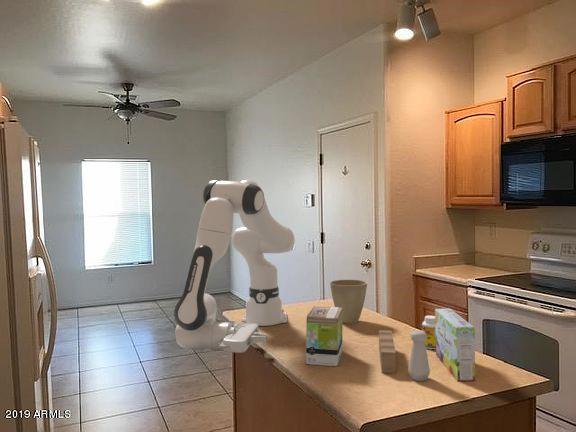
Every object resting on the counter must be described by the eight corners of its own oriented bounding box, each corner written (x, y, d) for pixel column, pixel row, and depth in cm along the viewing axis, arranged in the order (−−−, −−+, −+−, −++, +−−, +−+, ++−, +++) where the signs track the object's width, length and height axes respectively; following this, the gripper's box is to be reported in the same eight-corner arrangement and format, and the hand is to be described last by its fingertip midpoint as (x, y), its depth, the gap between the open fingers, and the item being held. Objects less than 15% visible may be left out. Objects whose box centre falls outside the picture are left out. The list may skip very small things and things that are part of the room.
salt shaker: (417, 384, 125) (417, 336, 125) (403, 376, 131) (403, 330, 130) (434, 380, 128) (434, 333, 127) (420, 373, 133) (420, 327, 133)
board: (379, 348, 155) (378, 330, 155) (391, 348, 155) (391, 330, 155) (381, 372, 134) (381, 352, 134) (395, 373, 133) (395, 352, 133)
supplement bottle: (418, 346, 157) (418, 316, 157) (431, 343, 159) (431, 314, 159) (430, 351, 152) (430, 319, 152) (443, 348, 154) (443, 317, 154)
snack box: (433, 355, 148) (433, 308, 147) (451, 355, 148) (451, 308, 147) (455, 381, 127) (455, 326, 126) (476, 381, 127) (476, 326, 126)
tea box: (338, 367, 139) (338, 317, 138) (305, 365, 141) (304, 316, 140) (343, 350, 154) (342, 306, 153) (312, 349, 156) (312, 305, 155)
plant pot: (374, 320, 190) (374, 281, 190) (354, 328, 179) (353, 287, 179) (344, 315, 200) (343, 277, 200) (322, 322, 189) (322, 282, 189)
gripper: (214, 336, 142) (259, 338, 140) (233, 319, 162) (272, 320, 160) (214, 357, 142) (259, 358, 140) (233, 337, 162) (272, 338, 160)
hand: (266, 338), depth 150 cm, fingers closed
